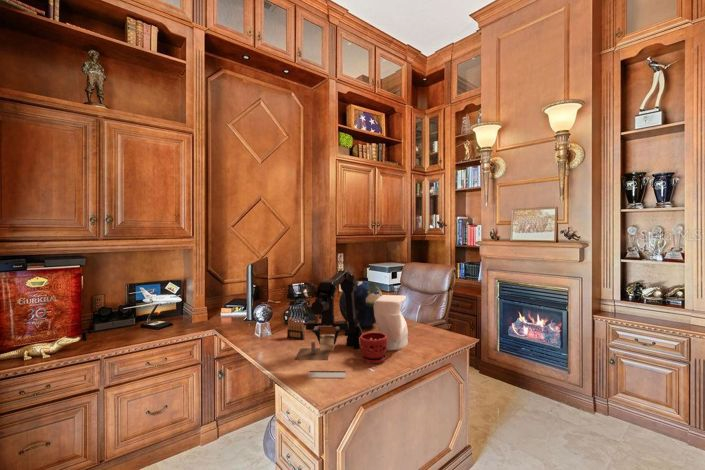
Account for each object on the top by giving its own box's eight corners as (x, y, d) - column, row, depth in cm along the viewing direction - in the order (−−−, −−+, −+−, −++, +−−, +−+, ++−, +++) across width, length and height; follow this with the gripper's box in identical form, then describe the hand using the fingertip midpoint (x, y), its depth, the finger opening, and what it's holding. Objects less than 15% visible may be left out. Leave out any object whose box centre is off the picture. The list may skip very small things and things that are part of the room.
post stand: (330, 350, 173) (330, 337, 173) (327, 362, 157) (327, 348, 157) (300, 350, 173) (300, 337, 173) (294, 362, 157) (294, 348, 157)
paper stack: (413, 340, 188) (413, 295, 187) (400, 357, 163) (400, 305, 163) (378, 336, 196) (378, 293, 196) (361, 351, 171) (361, 302, 171)
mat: (346, 364, 154) (346, 364, 154) (345, 378, 140) (345, 377, 140) (312, 364, 154) (312, 363, 154) (307, 378, 140) (307, 377, 140)
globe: (332, 323, 224) (332, 279, 224) (371, 318, 237) (371, 276, 236) (350, 335, 197) (350, 285, 196) (393, 329, 209) (393, 282, 209)
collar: (334, 345, 150) (334, 334, 150) (333, 350, 144) (333, 338, 144) (321, 345, 150) (321, 334, 150) (320, 350, 144) (319, 338, 144)
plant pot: (383, 354, 167) (383, 330, 167) (390, 364, 154) (390, 339, 154) (357, 355, 165) (357, 332, 165) (362, 366, 152) (362, 340, 152)
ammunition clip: (287, 337, 193) (287, 317, 193) (288, 337, 195) (288, 316, 195) (303, 340, 190) (302, 319, 189) (304, 339, 191) (304, 318, 191)
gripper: (348, 305, 155) (348, 338, 155) (309, 305, 155) (309, 338, 155) (348, 311, 144) (348, 346, 144) (305, 311, 144) (305, 346, 144)
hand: (327, 344), depth 147 cm, fingers closed on collar, 6 cm apart
